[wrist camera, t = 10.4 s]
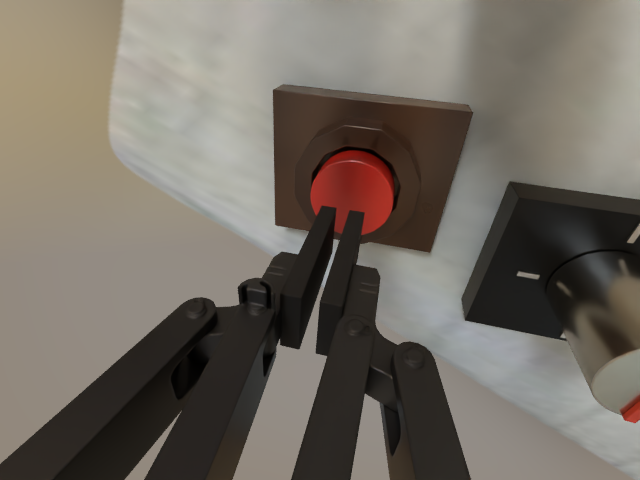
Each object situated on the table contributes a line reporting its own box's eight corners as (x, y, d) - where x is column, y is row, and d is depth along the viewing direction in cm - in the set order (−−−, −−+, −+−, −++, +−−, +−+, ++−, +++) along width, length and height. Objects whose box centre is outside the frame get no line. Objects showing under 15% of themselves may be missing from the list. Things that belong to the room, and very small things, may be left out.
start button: (402, 155, 20) (401, 167, 18) (387, 227, 23) (385, 242, 21) (319, 144, 21) (312, 154, 19) (315, 215, 23) (308, 228, 22)
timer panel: (751, 215, 21) (790, 238, 19) (643, 334, 27) (663, 362, 25) (509, 181, 23) (519, 198, 21) (461, 299, 29) (465, 322, 27)
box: (468, 104, 21) (479, 121, 18) (429, 238, 26) (431, 269, 23) (282, 84, 23) (260, 95, 19) (283, 213, 28) (266, 239, 25)
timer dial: (574, 241, 21) (641, 336, 15) (677, 262, 21) (794, 371, 14) (529, 307, 25) (570, 407, 19) (617, 327, 24) (690, 438, 18)
